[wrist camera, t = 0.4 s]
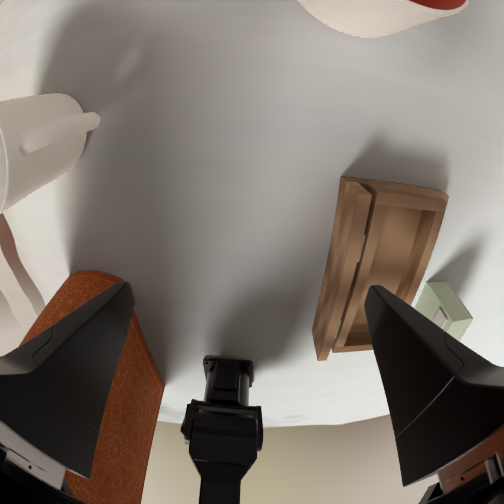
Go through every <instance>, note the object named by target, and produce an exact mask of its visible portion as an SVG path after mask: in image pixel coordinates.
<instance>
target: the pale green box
mask: <svg viewBox="0 0 504 504" xmlns="http://www.w3.org/2000/svg"><path fill="white" fill-rule="evenodd" d="M414 309H416V310H417V311H418V312H420V313H421V314H423V315H424V316H425V317H427V318H428V319H429V320H431V321H432V322H434V323H435V324H436V325H438V326H439V327H440V328H442V329H443V330H444V331H446V332H447V333H448V334H450V335H451V336H452V337H454V338H455V339H456V340H458V341H459V340H460V339H461V337H462V336H463V334H464V333H465V331H466V330H467V328H468V326H469V325H470V323H471V321H472V320H473V317H472V316H471V314H470V313H469V311H468V310H467V308H466V307H465V306H464V304H463V303H462V301H461V300H460V299H459V297H458V296H457V295H456V293H455V292H454V291H453V289H452V288H451V287H450V285H449V284H448V283H447V282H446V281H437V282H426V283H425V286H424V288H423V291H422V293H421V295H420V297H419V300H418V302H417V304H416V306H415V308H414Z"/></svg>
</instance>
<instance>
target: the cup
mask: <svg viewBox="0 0 504 504" xmlns="http://www.w3.org/2000/svg"><path fill="white" fill-rule="evenodd" d="M298 1H299V2H300V4H301V5H302V6H303V7H304V8H305V9H306V10H307V11H308V12H309V13H310V14H311V15H312V16H313V17H315V18H316V19H317V20H319V21H320V22H322V23H323V24H325V25H327V26H329V27H330V28H333V29H335V30H337V31H339V32H342V33H345V34H348V35H352V36H357V37H362V38H380V37H386V36H389V35H392V34H395V33H397V32H400V31H403V30H405V29H408V28H411V27H414V26H417V25H420V24H423V23H426V22H429V21H433V20H436V19H440V18H443V17H447V16H451V15H455V14H458V13H460V12H461V11H463V10H464V9H465V8H466V7H467V6H468V4H469V2H470V0H298Z"/></svg>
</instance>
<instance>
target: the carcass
mask: <svg viewBox="0 0 504 504" xmlns="http://www.w3.org/2000/svg"><path fill="white" fill-rule="evenodd" d="M448 198H449V196H448V195H446V194H445V193H443V192H442V191H440V190H435V189H429V188H424V187H418V186H412V185H405V184H399V183H392V182H385V181H377V180H369V179H361V178H352V177H342V176H341V180H340V187H339V194H338V201H337V208H336V214H335V221H334V227H333V233H332V238H331V244H330V249H329V255H328V260H327V265H326V270H325V275H324V280H323V284H322V289H321V294H320V298H319V303H318V307H317V311H316V315H315V320H314V324H313V328H312V334H313V339H314V345H315V350H316V356H317V361H324V360H327V358H328V355H329V352H330V349H331V348H332V352H333V353H338V352H352V351H364V350H373V347H372V343H371V339H370V334H369V329H368V323H367V318H366V313H365V309H364V303H365V299H366V296H367V293H368V289H369V287H370V286H371V285H381V286H383V287H384V288H386V289H387V290H389V291H390V292H392V293H393V294H394V295H396V296H397V297H399V298H400V299H402V300H403V301H404V302H406V303H407V304H409V305H410V306H411V304H412V302H413V299H414V297H415V295H416V293H417V290H418V288H419V285H420V283H421V281H422V278H423V276H424V273H425V271H426V268H427V265H428V263H429V260H430V257H431V254H432V251H433V249H434V246H435V243H436V240H437V237H438V233H439V230H440V227H441V224H442V220H443V217H444V213H445V209H446V206H447V202H448Z"/></svg>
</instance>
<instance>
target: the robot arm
mask: <svg viewBox="0 0 504 504" xmlns="http://www.w3.org/2000/svg"><path fill="white" fill-rule="evenodd" d="M134 305H135V299H134V296H133V292H132V289H131V286H130V283H129V282H124V281H119V282H117V283H115V284H114V285H112V286H111V287H109V288H108V289H106V290H104V291H103V292H101V293H100V294H98V295H97V296H95V297H94V298H92V299H91V300H89V301H88V302H86V303H84V304H83V305H81V306H80V307H78V308H77V309H75V310H74V311H72V312H71V313H69V314H68V315H66V316H65V317H64V318H62V319H61V320H59V321H58V322H56V323H55V324H54V325H52V326H50V327H49V328H48V329H46V330H45V331H43V332H42V333H40V334H39V335H37V336H36V337H34V338H32V339H31V340H29V341H27V342H26V343H24V344H23V345H21V346H19V347H18V348H16V349H14V350H13V351H11V352H10V353H8V354H6V355H4V356H1V357H0V504H89V503H87V502H84V501H82V500H80V499H78V498H76V497H75V496H74V495H73V493H72V491H71V489H70V487H69V485H68V483H67V481H66V479H65V478H64V475H65V471H66V469H67V470H69V471H71V472H73V473H75V474H78V475H80V476H82V477H85V478H87V479H90V476H91V470H92V465H93V460H94V454H95V450H96V445H97V440H98V436H99V431H100V427H101V422H102V418H103V414H104V411H105V407H106V403H107V399H108V396H109V392H110V389H111V385H112V382H113V378H114V375H115V372H116V369H117V365H118V362H119V359H120V356H121V353H122V350H123V347H124V344H125V341H126V338H127V334H128V330H129V325H130V321H131V317H132V313H133V309H134ZM364 309H365V313H366V318H367V323H368V329H369V334H370V339H371V343H372V347H373V350H374V354H375V357H376V360H377V364H378V368H379V371H380V375H381V379H382V383H383V386H384V390H385V394H386V398H387V403H388V407H389V411H390V416H391V420H392V425H393V430H394V435H395V440H396V446H397V451H398V457H399V463H400V470H401V476H402V483H403V486H404V487H405V486H408V485H411V484H413V483H416V482H418V481H421V480H423V479H426V478H428V477H430V476H433V475H435V474H438V478H439V482H438V483H436V484H434V485H432V486H430V487H428V489H427V491H426V493H425V494H424V496H423V498H422V499H421V501H420V502H419V504H504V367H500V366H496V365H494V364H492V363H491V362H489V361H488V360H486V359H485V358H483V357H482V356H480V355H479V354H477V353H476V352H474V351H472V350H471V349H469V348H468V347H466V346H465V345H464V344H462V343H461V342H459V341H458V340H456V339H455V338H454V337H452V336H451V335H450V334H448V333H447V332H446V331H444V330H443V329H442V328H440V327H439V326H438V325H436V324H435V323H434V322H432V321H431V320H429V319H428V318H427V317H425V316H424V315H423V314H421V313H420V312H418V311H417V310H416V309H414V308H413V307H412V306H410V305H409V304H407V303H406V302H404V301H403V300H402V299H400V298H399V297H397V296H396V295H394V294H393V293H392V292H390V291H389V290H387V289H386V288H384V287H383V286H381V285H371V286H370V287H369V289H368V293H367V296H366V299H365V303H364ZM203 366H204V371H205V376H206V381H207V382H206V389H205V396H204V401H197V400H195V399H192V401H191V404H187V409H186V414H185V418H184V420H183V423H182V427H181V432H182V434H183V435H184V439H185V444H189V454H190V457H191V460H192V463H193V464H194V466H195V468H196V470H197V472H198V474H199V476H200V477H201V485H200V496H199V504H240V484H241V479H242V478H243V477H244V476H245V474H246V473H247V471H248V470H249V469H250V468H251V466H252V465H253V463H254V462H255V461H256V459H257V451H261V449H262V443H263V423H262V412H261V406H248V404H249V388H250V387H252V368H253V362H252V361H242V360H220V359H204V360H203Z"/></svg>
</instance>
